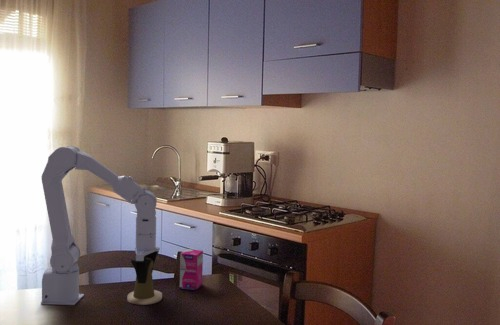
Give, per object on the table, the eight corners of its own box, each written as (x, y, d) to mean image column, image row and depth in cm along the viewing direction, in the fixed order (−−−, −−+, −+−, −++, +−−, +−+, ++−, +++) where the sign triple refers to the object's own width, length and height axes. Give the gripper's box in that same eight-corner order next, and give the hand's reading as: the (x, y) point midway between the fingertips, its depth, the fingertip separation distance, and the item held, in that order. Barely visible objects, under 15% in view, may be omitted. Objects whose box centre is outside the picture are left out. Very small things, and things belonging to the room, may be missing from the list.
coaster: (123, 304, 133) (123, 300, 133) (132, 292, 143) (132, 288, 143) (158, 305, 133) (158, 301, 133) (165, 293, 143) (165, 289, 143)
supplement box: (178, 289, 147) (179, 253, 146) (185, 283, 153) (186, 248, 152) (196, 291, 146) (197, 254, 145) (202, 285, 151) (203, 250, 151)
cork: (150, 299, 134) (151, 261, 133) (130, 298, 135) (130, 260, 134) (157, 292, 140) (157, 256, 139) (137, 291, 141) (137, 255, 140)
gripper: (154, 239, 129) (153, 287, 130) (164, 228, 144) (163, 271, 145) (128, 238, 129) (128, 286, 130) (141, 227, 144) (140, 271, 145)
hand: (145, 278), depth 137 cm, fingers open, 7 cm apart
